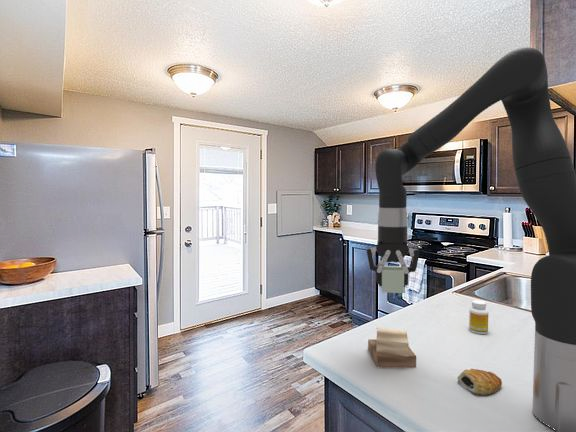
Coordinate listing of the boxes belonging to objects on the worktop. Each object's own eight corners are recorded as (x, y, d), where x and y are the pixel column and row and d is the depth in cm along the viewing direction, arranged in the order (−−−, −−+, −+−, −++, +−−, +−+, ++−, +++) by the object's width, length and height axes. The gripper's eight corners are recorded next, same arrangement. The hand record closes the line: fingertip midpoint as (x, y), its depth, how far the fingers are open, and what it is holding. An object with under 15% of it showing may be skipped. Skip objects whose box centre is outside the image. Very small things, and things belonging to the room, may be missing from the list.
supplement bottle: (490, 335, 103) (491, 305, 102) (472, 333, 104) (473, 304, 103) (484, 328, 108) (484, 299, 107) (466, 327, 109) (467, 299, 108)
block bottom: (416, 369, 84) (416, 356, 84) (377, 369, 84) (377, 356, 84) (402, 350, 94) (402, 339, 94) (368, 351, 94) (368, 339, 94)
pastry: (485, 375, 80) (485, 361, 80) (510, 391, 74) (511, 375, 73) (454, 382, 77) (455, 367, 77) (478, 399, 71) (479, 382, 71)
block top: (408, 356, 84) (408, 343, 83) (376, 352, 86) (376, 339, 86) (406, 343, 91) (406, 331, 91) (377, 339, 93) (377, 327, 93)
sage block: (404, 293, 85) (404, 270, 84) (382, 292, 86) (382, 269, 86) (400, 287, 90) (401, 266, 90) (380, 286, 91) (380, 265, 91)
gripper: (365, 225, 85) (365, 288, 86) (423, 225, 82) (422, 291, 83) (364, 223, 92) (364, 281, 93) (417, 223, 89) (417, 283, 90)
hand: (392, 285), depth 88 cm, fingers closed on sage block, 5 cm apart
